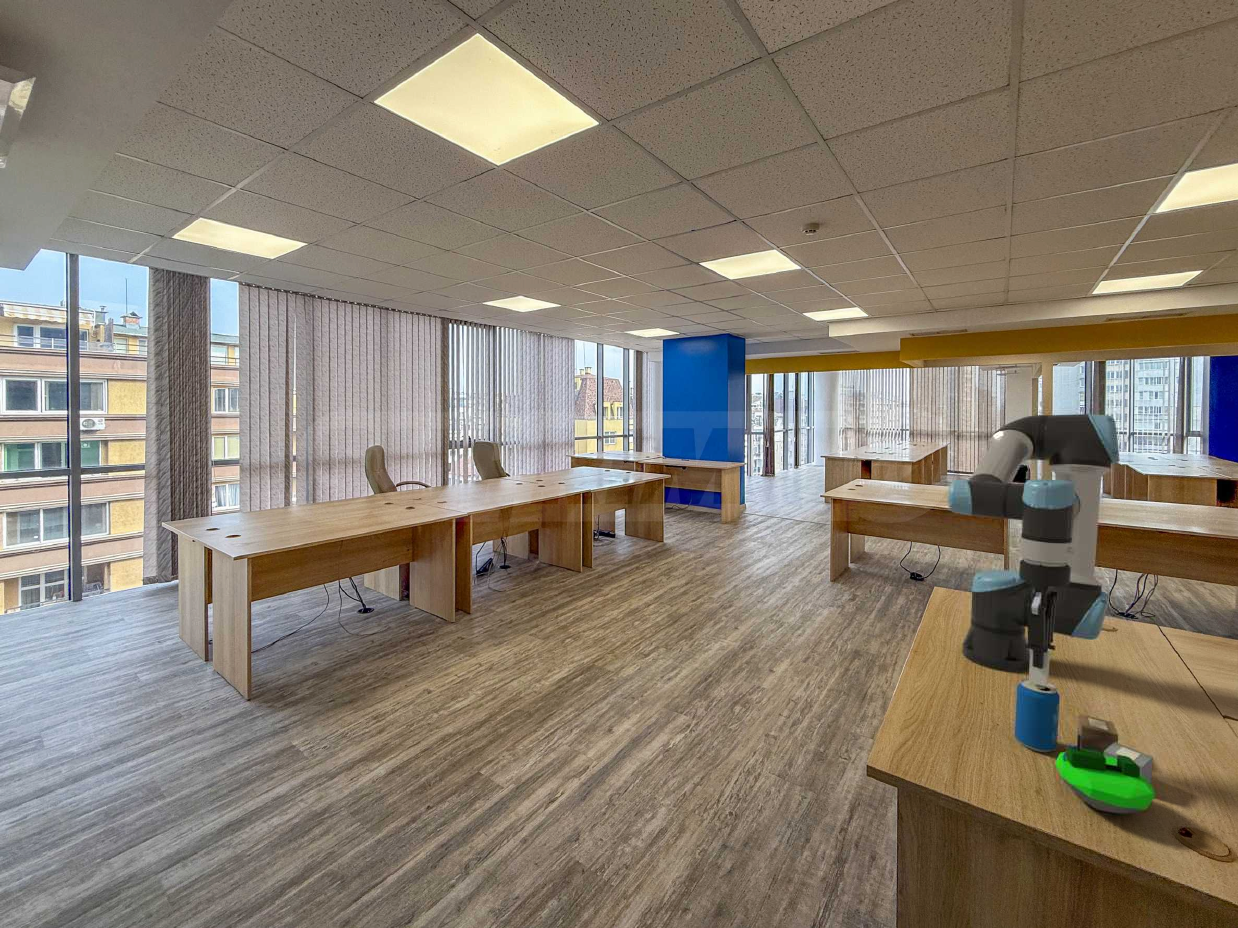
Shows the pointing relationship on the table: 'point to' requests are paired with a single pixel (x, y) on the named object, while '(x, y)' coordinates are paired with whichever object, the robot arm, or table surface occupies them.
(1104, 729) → the walnut block
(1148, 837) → the table surface
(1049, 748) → the beverage can
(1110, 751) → the slate block
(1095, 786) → the green toy boat
